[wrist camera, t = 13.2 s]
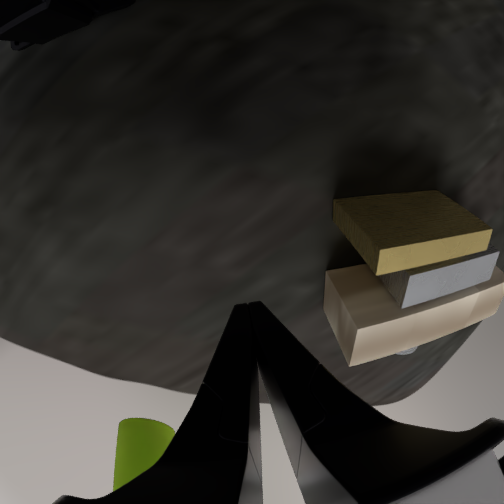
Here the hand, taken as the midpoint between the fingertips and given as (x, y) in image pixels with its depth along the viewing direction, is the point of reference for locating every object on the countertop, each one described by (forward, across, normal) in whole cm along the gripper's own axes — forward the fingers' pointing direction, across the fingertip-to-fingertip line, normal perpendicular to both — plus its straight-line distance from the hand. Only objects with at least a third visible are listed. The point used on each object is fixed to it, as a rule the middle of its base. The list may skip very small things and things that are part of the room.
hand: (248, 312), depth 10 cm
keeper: (+6, -9, 0) cm, 11 cm away
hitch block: (+6, -11, +5) cm, 14 cm away
